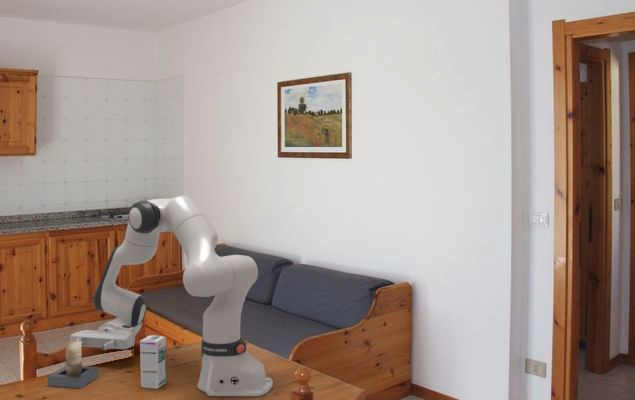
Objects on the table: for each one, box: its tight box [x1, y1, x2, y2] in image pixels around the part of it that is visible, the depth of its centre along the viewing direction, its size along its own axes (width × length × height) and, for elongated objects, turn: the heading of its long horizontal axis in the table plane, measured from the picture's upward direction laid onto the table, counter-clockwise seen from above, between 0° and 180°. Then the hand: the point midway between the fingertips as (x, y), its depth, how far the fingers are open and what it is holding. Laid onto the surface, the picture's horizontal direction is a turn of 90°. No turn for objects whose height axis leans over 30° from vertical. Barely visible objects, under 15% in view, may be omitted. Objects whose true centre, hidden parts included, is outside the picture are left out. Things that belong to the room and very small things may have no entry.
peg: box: [65, 340, 83, 376], centre depth 191 cm, size 4×4×12 cm
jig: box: [47, 365, 100, 390], centre depth 191 cm, size 11×11×3 cm
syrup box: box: [139, 334, 168, 390], centre depth 189 cm, size 6×6×14 cm
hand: (89, 346), depth 200 cm, fingers open, 8 cm apart
